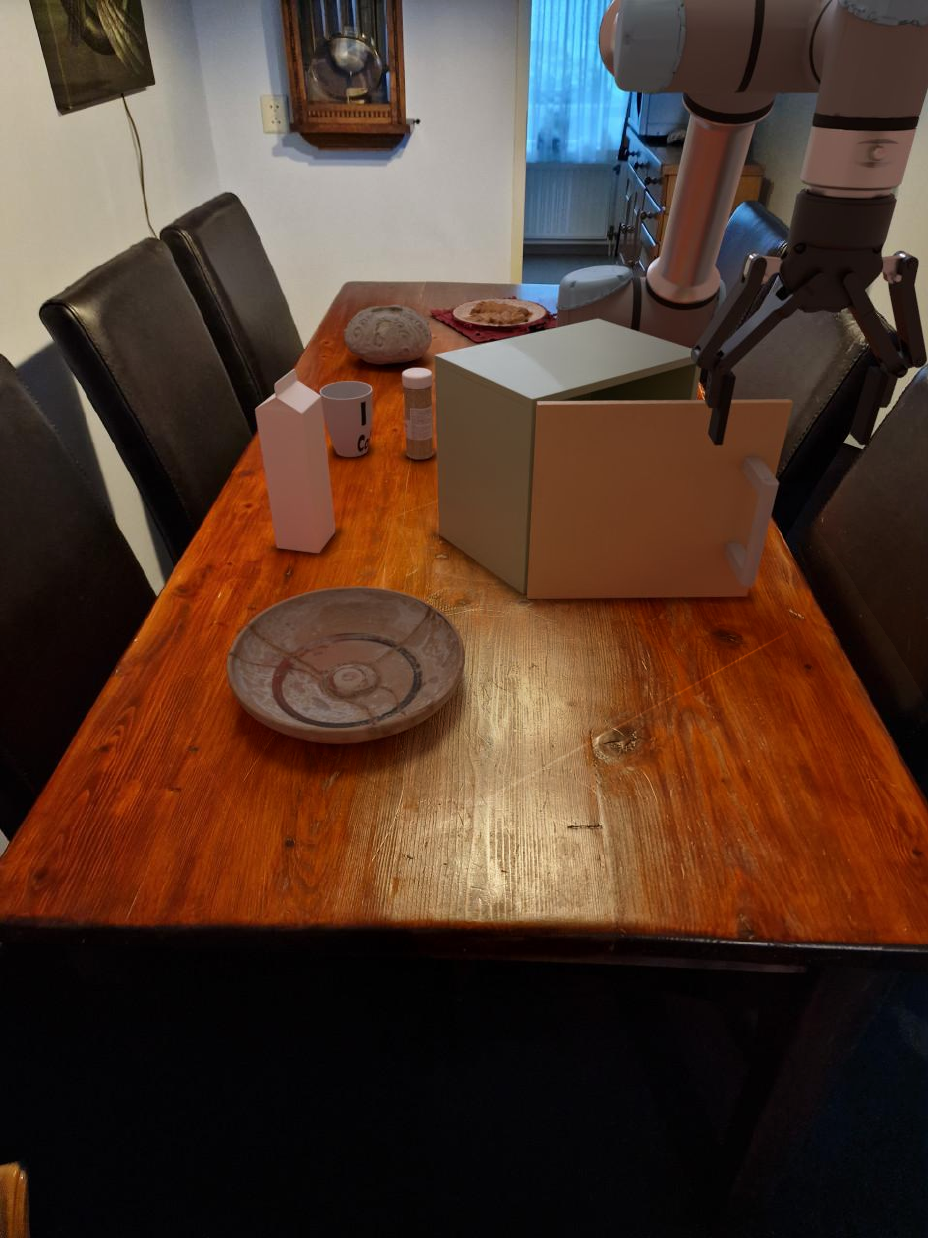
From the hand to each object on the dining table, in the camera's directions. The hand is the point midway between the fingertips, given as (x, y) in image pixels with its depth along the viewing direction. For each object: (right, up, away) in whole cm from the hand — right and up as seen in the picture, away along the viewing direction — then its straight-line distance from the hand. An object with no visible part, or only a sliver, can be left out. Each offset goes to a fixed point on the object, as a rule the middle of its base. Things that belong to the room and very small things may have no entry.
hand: (786, 439), depth 77 cm
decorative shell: (-46, +37, +92) cm, 109 cm away
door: (-10, -16, +16) cm, 25 cm away
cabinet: (-18, -6, +32) cm, 37 cm away
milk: (-52, -7, +31) cm, 60 cm away
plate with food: (-23, +53, +114) cm, 128 cm away
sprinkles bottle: (-38, +9, +53) cm, 65 cm away
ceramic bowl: (-42, -24, +6) cm, 49 cm away
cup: (-49, +10, +54) cm, 74 cm away
